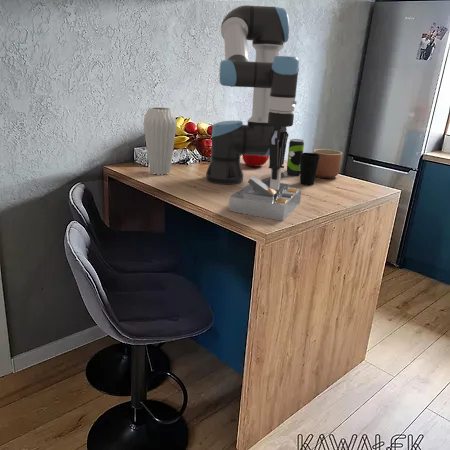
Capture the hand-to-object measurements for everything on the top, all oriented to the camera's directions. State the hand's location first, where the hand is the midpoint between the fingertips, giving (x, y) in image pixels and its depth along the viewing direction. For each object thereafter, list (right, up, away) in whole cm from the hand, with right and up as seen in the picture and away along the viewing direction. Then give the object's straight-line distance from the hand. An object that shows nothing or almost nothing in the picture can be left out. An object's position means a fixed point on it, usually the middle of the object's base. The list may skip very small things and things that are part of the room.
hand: (274, 188), depth 143 cm
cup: (+18, +5, +43) cm, 47 cm away
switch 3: (+1, +4, +14) cm, 15 cm away
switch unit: (-2, -5, +10) cm, 12 cm away
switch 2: (-1, +2, +8) cm, 8 cm away
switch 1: (-4, 0, +2) cm, 4 cm away
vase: (-43, +10, +47) cm, 64 cm away
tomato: (-2, +16, +70) cm, 71 cm away
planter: (+28, +10, +56) cm, 64 cm away
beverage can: (+15, +11, +57) cm, 60 cm away
